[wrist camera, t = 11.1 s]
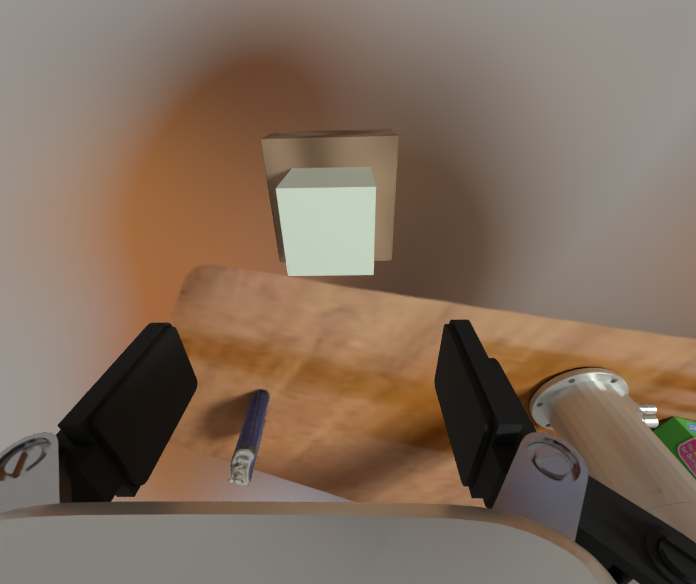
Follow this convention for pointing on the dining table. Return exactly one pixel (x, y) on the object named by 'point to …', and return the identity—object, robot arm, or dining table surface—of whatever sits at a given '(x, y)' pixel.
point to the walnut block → (337, 152)
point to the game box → (680, 441)
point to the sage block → (328, 220)
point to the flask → (249, 438)
